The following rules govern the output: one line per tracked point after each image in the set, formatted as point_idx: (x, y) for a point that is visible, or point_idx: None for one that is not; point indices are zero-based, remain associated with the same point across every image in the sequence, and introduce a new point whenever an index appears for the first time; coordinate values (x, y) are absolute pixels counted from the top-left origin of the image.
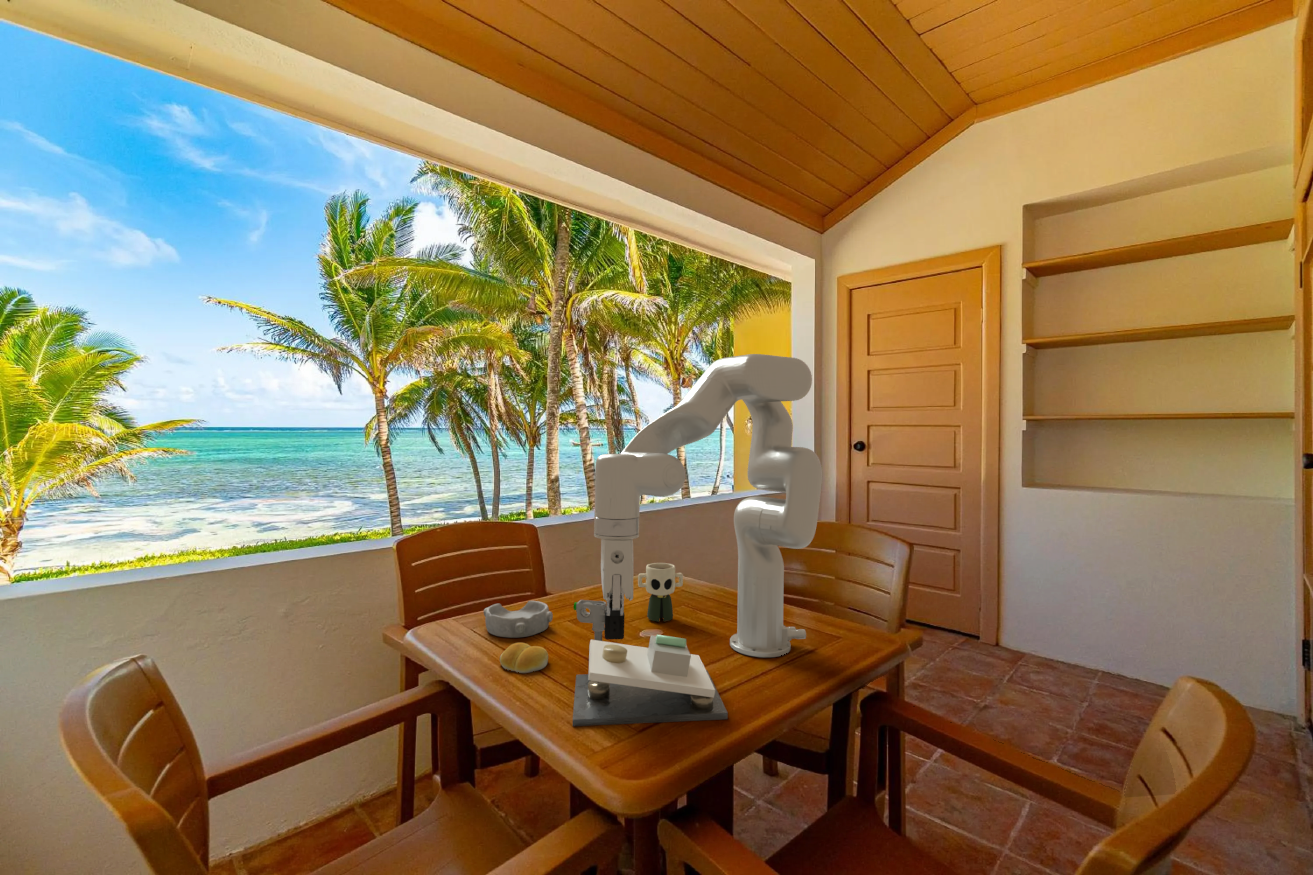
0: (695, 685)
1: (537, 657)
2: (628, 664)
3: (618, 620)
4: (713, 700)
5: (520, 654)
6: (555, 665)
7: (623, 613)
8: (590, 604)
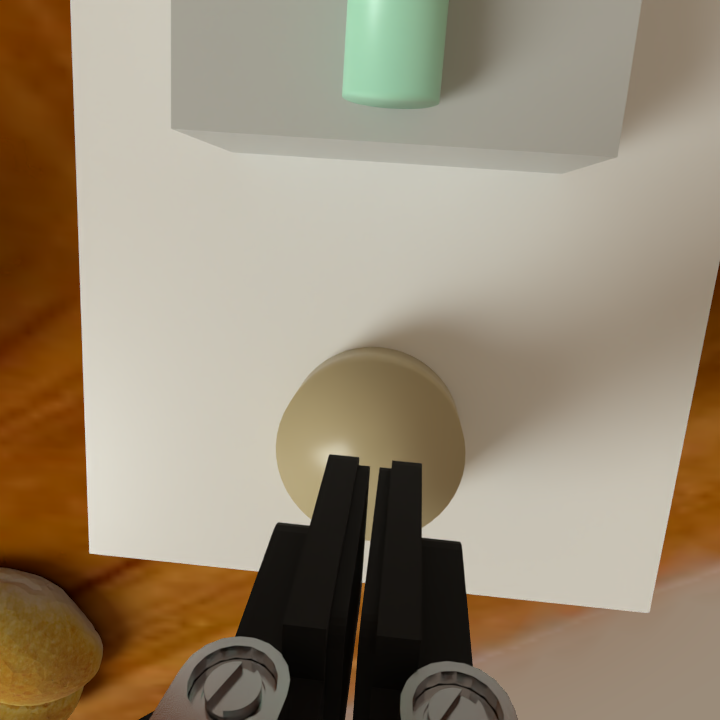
0: None
1: (41, 644)
2: (464, 338)
3: (472, 665)
4: None
5: (28, 705)
6: (16, 536)
7: (327, 630)
8: None
